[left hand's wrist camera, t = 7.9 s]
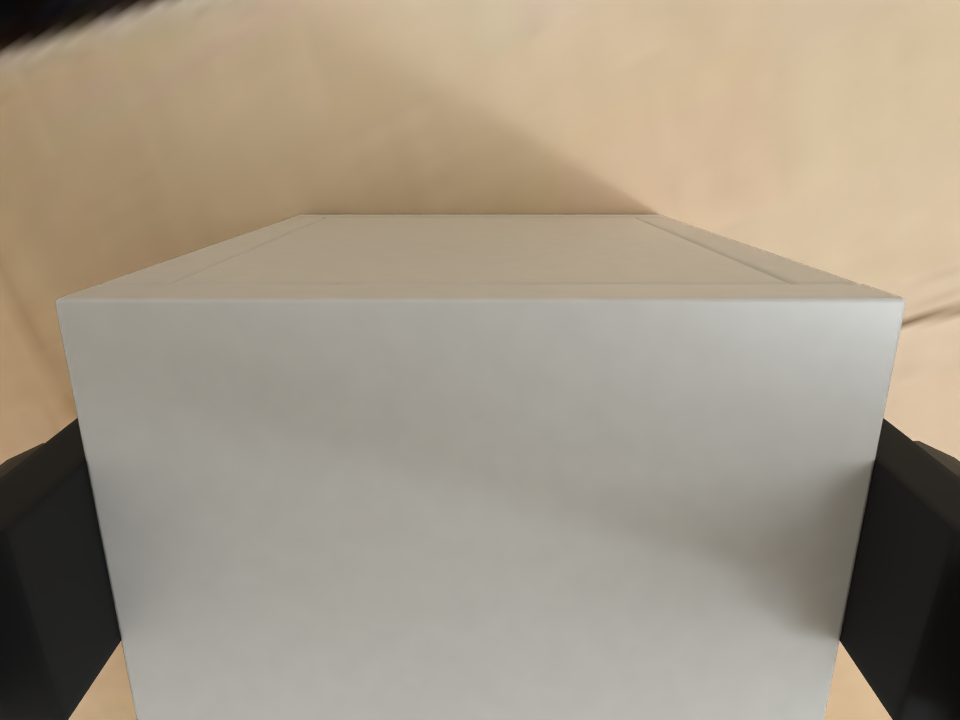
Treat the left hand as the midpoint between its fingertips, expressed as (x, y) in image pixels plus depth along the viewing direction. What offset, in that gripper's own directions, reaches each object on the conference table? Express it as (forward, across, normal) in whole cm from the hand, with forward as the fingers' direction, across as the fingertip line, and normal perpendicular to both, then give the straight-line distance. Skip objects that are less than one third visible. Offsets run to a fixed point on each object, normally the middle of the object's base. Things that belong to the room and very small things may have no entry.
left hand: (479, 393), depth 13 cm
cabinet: (+5, 0, -7) cm, 9 cm away
